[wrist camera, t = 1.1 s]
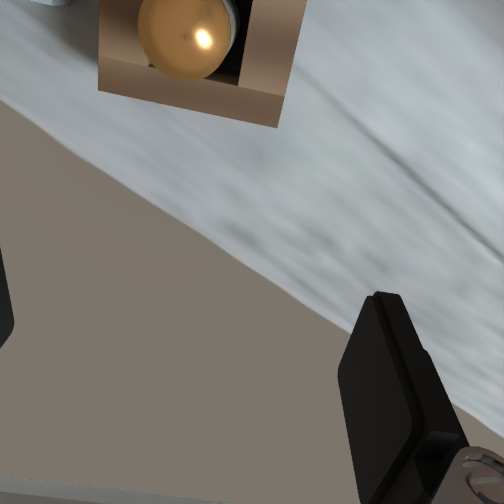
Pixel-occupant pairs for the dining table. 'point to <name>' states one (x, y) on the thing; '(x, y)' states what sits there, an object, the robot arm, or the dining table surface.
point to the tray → (53, 2)
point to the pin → (187, 35)
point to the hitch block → (217, 83)
